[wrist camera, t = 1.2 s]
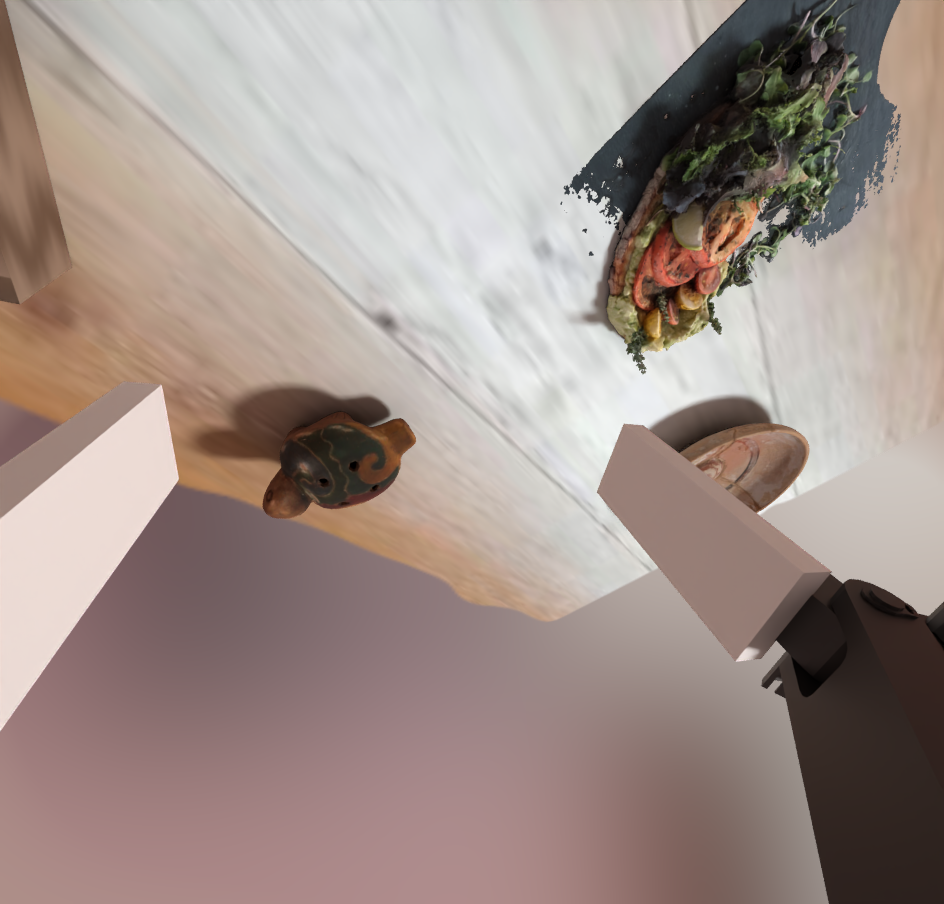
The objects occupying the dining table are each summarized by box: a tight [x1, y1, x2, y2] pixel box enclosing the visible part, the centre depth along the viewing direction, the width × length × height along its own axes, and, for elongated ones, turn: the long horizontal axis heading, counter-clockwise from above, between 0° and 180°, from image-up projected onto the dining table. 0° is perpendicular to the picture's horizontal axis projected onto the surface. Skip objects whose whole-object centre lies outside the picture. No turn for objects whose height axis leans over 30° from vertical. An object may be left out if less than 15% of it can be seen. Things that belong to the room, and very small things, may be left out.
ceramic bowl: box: [679, 423, 809, 513], centre depth 57 cm, size 23×24×5 cm
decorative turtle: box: [263, 412, 416, 519], centre depth 39 cm, size 10×15×8 cm, turn 112°
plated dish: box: [561, 0, 901, 374], centre depth 32 cm, size 35×28×7 cm
